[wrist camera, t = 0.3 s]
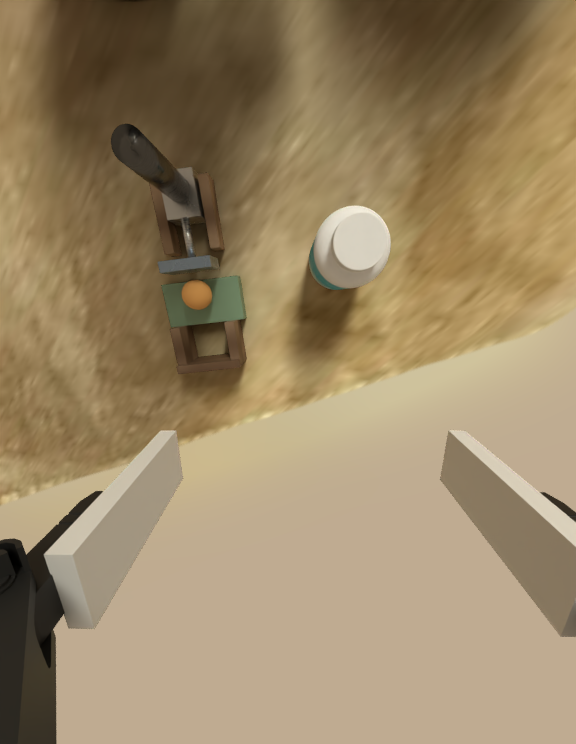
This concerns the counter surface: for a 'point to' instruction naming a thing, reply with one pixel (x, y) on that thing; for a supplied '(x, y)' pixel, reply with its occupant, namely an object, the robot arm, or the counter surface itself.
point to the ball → (196, 294)
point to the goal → (193, 363)
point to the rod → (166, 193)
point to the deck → (221, 308)
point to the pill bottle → (349, 248)
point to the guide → (210, 212)
